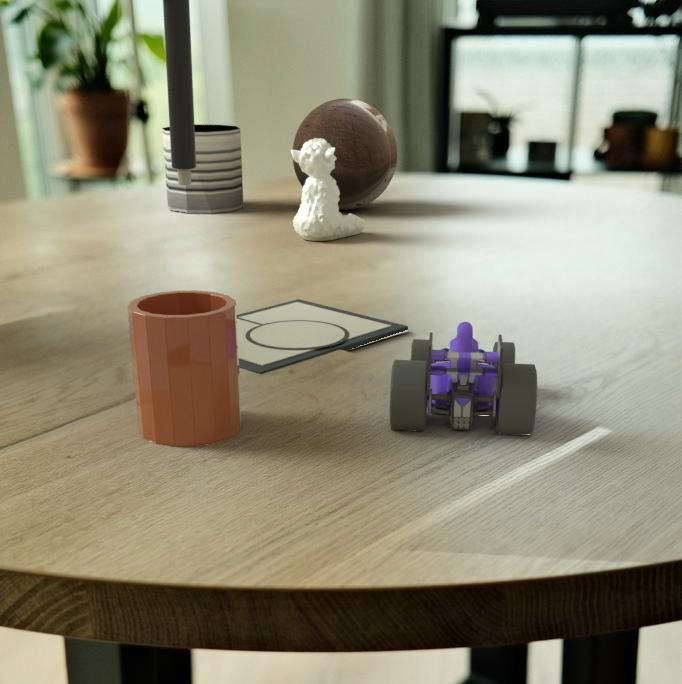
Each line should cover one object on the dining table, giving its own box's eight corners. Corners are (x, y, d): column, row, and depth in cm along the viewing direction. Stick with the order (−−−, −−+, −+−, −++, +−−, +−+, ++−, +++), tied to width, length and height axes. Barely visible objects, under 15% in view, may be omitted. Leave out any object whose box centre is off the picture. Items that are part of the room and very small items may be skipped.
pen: (166, 183, 63) (152, -79, 57) (186, 181, 65) (174, -77, 58) (182, 187, 63) (169, -80, 56) (202, 184, 64) (192, -78, 57)
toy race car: (521, 375, 80) (528, 293, 77) (533, 447, 67) (541, 352, 64) (400, 371, 81) (403, 290, 78) (388, 441, 68) (390, 347, 65)
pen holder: (120, 434, 69) (106, 303, 65) (198, 409, 73) (189, 285, 70) (183, 461, 65) (173, 323, 61) (262, 433, 69) (257, 302, 65)
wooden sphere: (391, 219, 141) (394, 103, 135) (285, 217, 143) (282, 102, 136) (399, 201, 155) (402, 95, 148) (302, 199, 156) (300, 94, 150)
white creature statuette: (366, 232, 133) (367, 134, 128) (350, 245, 126) (350, 142, 120) (296, 228, 135) (294, 132, 130) (277, 241, 128) (274, 140, 122)
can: (152, 211, 147) (145, 122, 142) (189, 199, 157) (184, 115, 151) (223, 215, 144) (218, 125, 138) (257, 203, 153) (254, 118, 148)
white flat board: (150, 343, 88) (149, 335, 88) (298, 304, 100) (298, 297, 99) (260, 379, 79) (260, 370, 79) (408, 332, 91) (408, 324, 91)
